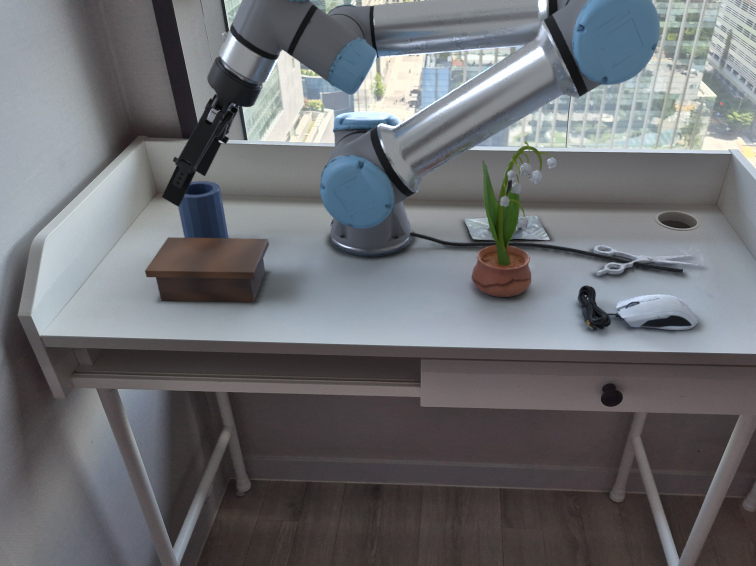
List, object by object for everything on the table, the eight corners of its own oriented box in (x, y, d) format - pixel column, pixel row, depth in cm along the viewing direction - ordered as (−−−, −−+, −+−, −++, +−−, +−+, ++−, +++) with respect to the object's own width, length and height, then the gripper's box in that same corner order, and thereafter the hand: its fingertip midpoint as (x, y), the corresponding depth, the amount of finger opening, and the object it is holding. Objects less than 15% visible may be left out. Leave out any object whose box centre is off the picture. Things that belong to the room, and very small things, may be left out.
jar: (233, 237, 131) (224, 181, 125) (223, 255, 125) (213, 197, 119) (193, 236, 131) (182, 180, 125) (181, 255, 125) (169, 197, 119)
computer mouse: (704, 337, 105) (711, 314, 103) (584, 334, 106) (588, 311, 103) (686, 303, 113) (692, 282, 111) (574, 301, 114) (578, 279, 111)
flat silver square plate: (537, 218, 140) (545, 152, 132) (550, 240, 132) (559, 171, 124) (464, 220, 139) (467, 154, 131) (472, 242, 131) (476, 173, 123)
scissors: (584, 245, 129) (692, 244, 129) (584, 249, 129) (691, 248, 129) (597, 272, 120) (712, 272, 120) (596, 276, 120) (711, 276, 121)
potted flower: (546, 280, 119) (566, 133, 104) (534, 308, 112) (554, 154, 97) (479, 269, 122) (490, 124, 107) (463, 295, 115) (472, 144, 100)
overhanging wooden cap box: (272, 270, 121) (268, 238, 117) (258, 305, 111) (253, 272, 108) (175, 268, 121) (167, 237, 117) (153, 303, 111) (144, 270, 108)
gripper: (239, 38, 111) (188, 148, 121) (190, 73, 90) (133, 201, 101) (281, 67, 113) (227, 172, 123) (242, 107, 92) (181, 229, 103)
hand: (184, 185), depth 112 cm, fingers open, 13 cm apart
